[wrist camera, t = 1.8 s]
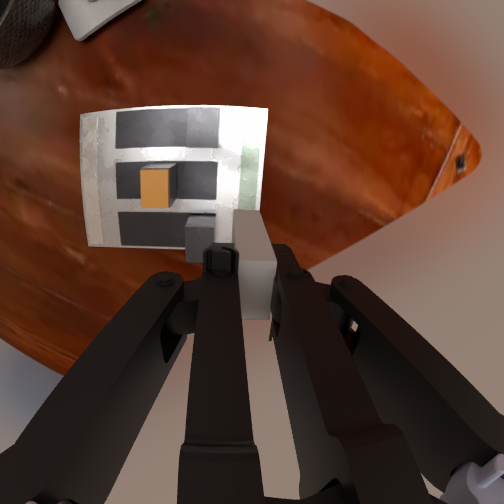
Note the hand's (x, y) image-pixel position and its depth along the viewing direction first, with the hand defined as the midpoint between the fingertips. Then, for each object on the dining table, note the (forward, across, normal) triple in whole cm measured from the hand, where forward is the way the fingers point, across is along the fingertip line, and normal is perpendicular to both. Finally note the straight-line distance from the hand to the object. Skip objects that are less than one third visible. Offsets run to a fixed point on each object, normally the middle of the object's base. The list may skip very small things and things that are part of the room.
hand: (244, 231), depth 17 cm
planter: (+18, -31, +24) cm, 43 cm away
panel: (+18, -8, 0) cm, 19 cm away
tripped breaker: (+15, -8, 0) cm, 17 cm away
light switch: (+18, -19, +25) cm, 36 cm away
